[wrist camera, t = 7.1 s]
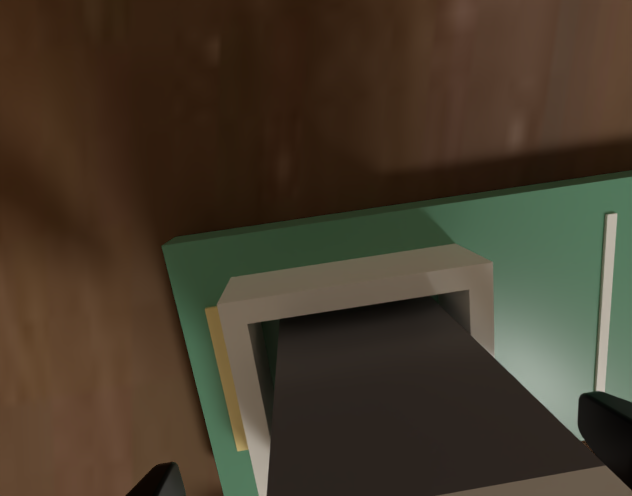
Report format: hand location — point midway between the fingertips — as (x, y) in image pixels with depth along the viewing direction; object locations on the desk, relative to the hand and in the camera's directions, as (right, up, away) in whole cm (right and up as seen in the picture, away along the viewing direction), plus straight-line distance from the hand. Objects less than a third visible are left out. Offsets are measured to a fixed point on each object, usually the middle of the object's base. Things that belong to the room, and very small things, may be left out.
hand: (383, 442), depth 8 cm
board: (+5, +2, +5) cm, 7 cm away
